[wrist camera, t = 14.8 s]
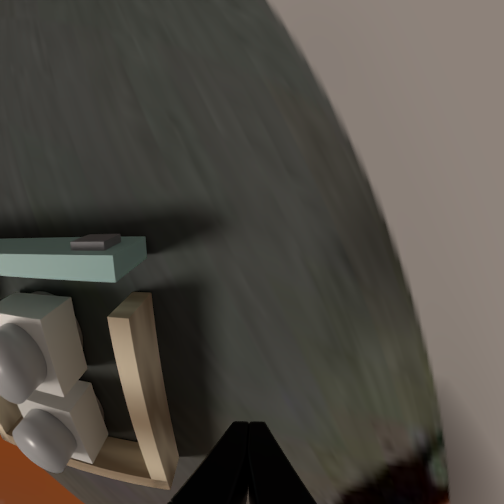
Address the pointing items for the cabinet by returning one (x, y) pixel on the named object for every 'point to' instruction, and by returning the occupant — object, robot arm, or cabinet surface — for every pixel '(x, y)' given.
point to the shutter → (72, 257)
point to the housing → (128, 402)
